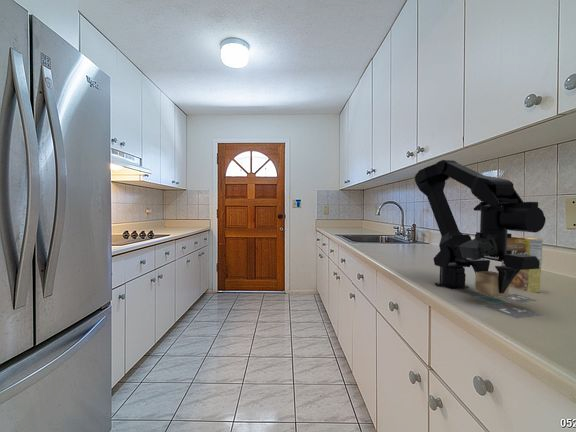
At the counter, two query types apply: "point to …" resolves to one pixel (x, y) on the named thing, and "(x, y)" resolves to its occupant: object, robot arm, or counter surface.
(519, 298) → the code tile
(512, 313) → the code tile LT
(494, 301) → the rubber mat
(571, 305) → the counter surface
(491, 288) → the oak block
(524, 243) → the candy box
